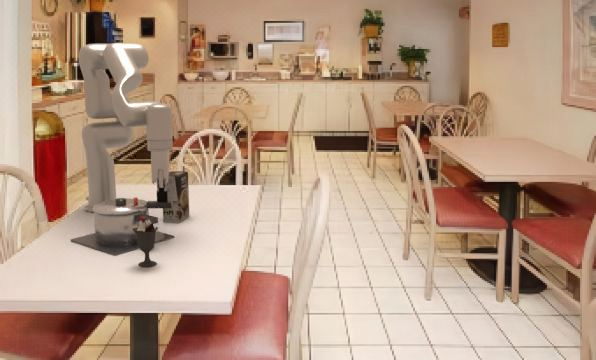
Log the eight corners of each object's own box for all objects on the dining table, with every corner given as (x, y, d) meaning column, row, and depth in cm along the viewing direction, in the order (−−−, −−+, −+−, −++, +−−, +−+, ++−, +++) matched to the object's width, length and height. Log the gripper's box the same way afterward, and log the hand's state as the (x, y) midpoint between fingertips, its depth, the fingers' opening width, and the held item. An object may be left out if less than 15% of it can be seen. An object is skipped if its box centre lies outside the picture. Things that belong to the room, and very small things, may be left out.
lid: (85, 215, 180) (84, 204, 180) (102, 201, 196) (101, 192, 196) (167, 215, 181) (166, 204, 180) (177, 201, 197) (176, 191, 196)
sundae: (136, 260, 171) (133, 208, 168) (161, 260, 172) (159, 207, 169) (132, 268, 165) (129, 214, 162) (158, 268, 165) (155, 213, 162)
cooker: (70, 241, 189) (68, 210, 187) (130, 225, 206) (128, 197, 204) (124, 259, 173) (122, 225, 171) (184, 240, 190) (183, 209, 188)
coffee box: (180, 223, 209) (178, 176, 205) (162, 222, 210) (160, 175, 207) (190, 216, 217) (188, 171, 214) (173, 215, 219) (171, 170, 215)
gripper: (148, 141, 194) (150, 198, 198) (146, 149, 179) (149, 210, 183) (172, 140, 195) (174, 197, 199) (172, 148, 181) (174, 209, 185)
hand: (162, 203), depth 191 cm, fingers closed
